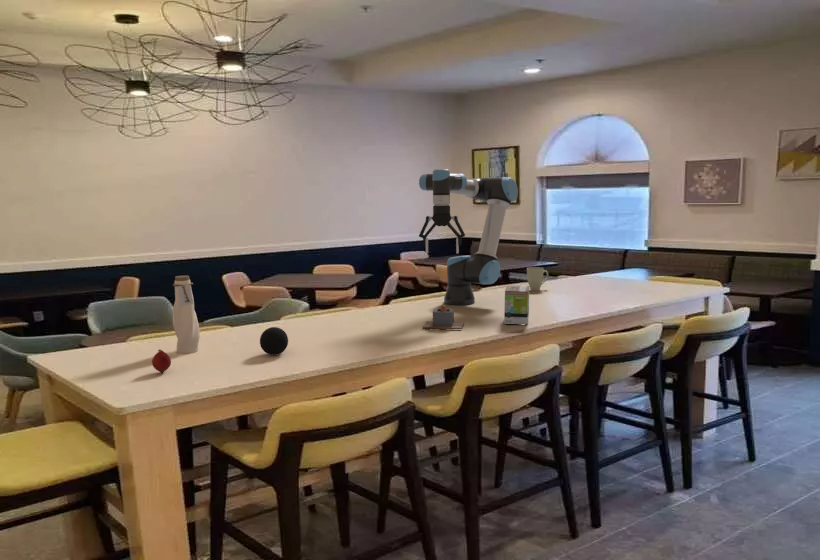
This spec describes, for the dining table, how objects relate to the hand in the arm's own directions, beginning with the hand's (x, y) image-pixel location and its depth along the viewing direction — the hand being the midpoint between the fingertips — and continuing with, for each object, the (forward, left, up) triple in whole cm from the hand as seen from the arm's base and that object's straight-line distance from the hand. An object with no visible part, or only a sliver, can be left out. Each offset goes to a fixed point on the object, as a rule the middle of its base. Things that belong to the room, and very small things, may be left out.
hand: (442, 253), depth 299 cm
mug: (-73, +42, -29) cm, 89 cm away
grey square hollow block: (+21, +3, -28) cm, 35 cm away
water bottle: (+70, -86, -29) cm, 115 cm away
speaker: (+71, -52, -29) cm, 93 cm away
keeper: (+21, +3, -29) cm, 36 cm away
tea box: (+8, +33, -29) cm, 44 cm away
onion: (+97, -81, -29) cm, 130 cm away
